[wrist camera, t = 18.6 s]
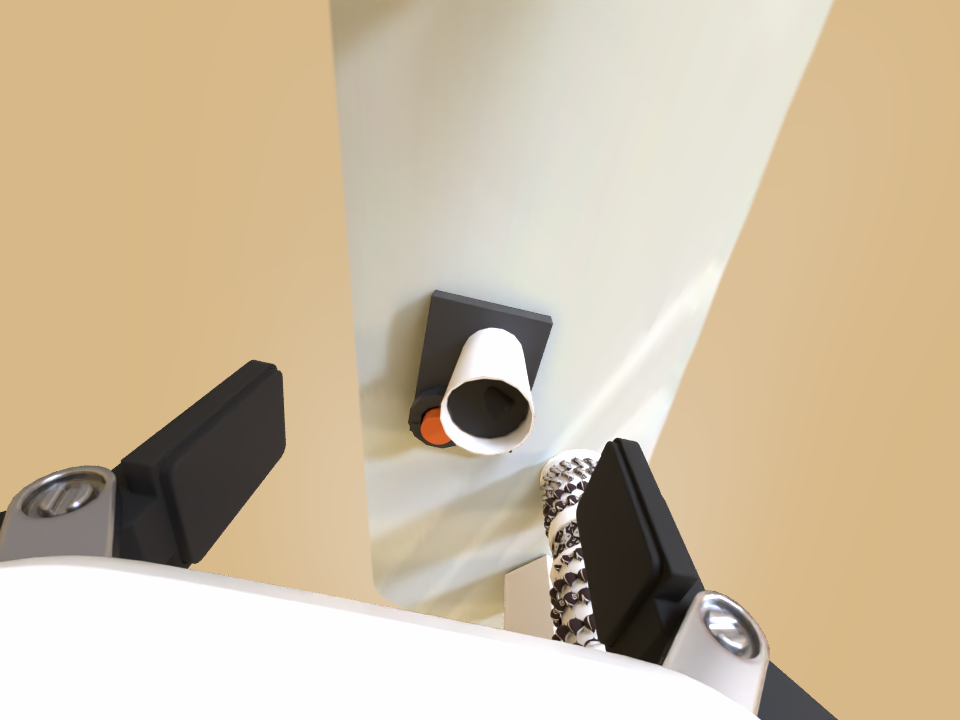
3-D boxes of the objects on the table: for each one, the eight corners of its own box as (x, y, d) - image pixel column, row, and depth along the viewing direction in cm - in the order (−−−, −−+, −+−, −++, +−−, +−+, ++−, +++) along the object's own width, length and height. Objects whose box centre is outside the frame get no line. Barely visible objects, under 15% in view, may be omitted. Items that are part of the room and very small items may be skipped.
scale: (434, 289, 35) (427, 300, 32) (551, 316, 36) (555, 330, 32) (412, 420, 42) (405, 440, 39) (511, 442, 42) (511, 463, 39)
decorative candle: (553, 436, 41) (604, 744, 19) (632, 459, 42) (773, 784, 20) (525, 495, 45) (540, 808, 23) (598, 515, 46) (683, 839, 24)
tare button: (426, 403, 37) (423, 414, 35) (459, 411, 37) (456, 421, 36) (421, 430, 38) (418, 440, 37) (453, 436, 39) (450, 448, 37)
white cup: (489, 308, 34) (481, 356, 25) (543, 354, 35) (555, 416, 26) (442, 358, 36) (420, 419, 27) (495, 399, 38) (491, 470, 29)
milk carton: (535, 600, 54) (547, 797, 37) (504, 573, 52) (501, 768, 35) (578, 582, 52) (612, 783, 35) (546, 552, 50) (566, 751, 32)
